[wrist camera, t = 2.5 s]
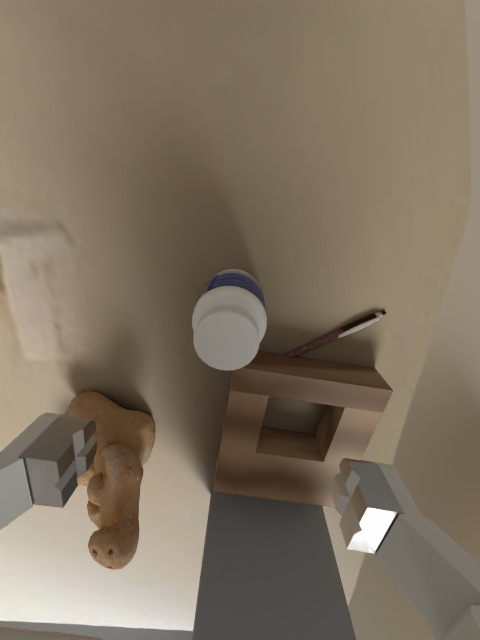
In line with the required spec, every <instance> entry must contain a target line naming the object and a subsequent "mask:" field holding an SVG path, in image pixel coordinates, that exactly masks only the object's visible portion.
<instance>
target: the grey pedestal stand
mask: <svg viewBox="0 0 480 640" xmlns="http://www.w3.org/2000/svg"><path fill="white" fill-rule="evenodd" d="M213 486H214V485H213ZM213 486H212V492H211V498H210V506H209V513H208V521H207V529H206V536H205V544H204V552H203V559H202V567H201V575H200V582H199V590H198V598H197V605H196V613H195V621H194V628H193V636H192V640H356V637H355V634H354V630H353V626H352V622H351V618H350V614H349V610H348V606H347V602H346V598H345V594H344V590H343V586H342V582H341V578H340V574H339V570H338V567H337V563H336V559H335V555H334V551H333V547H332V543H331V539H330V535H329V531H328V527H327V523H326V519H325V515H324V511H323V508H322V506H320V505H313V504H305V503H298V502H290V501H283V500H275V499H268V498H260V497H253V496H245V495H238V494H230V493H223V492H215V491H213Z"/></svg>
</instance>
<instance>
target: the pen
mask: <svg viewBox="0 0 480 640" xmlns="http://www.w3.org/2000/svg"><path fill="white" fill-rule="evenodd" d="M384 314H386V312H385V311H383V312H377V313H374V314H371V315H369V316H367V317H364V318H362V319H360V320H358V321H355V322H353V323H351V324H349V325H346V326H344V327H342V328H339V329H337V330H335V331H333V332H331V333H329V334H327V335H325V336H323V337H320V338H318V339H316V340H314V341H312V342H310V343H308V344H306V345H304V346H301V347H299V348H297V349H295V350H293V351H291V352H289V353H287V354H284V355H285V356H286V357H290V358H294V357H297V356H299V355H301V354H303V353H306V352H308V351H310V350H312V349H315V348H317V347H319V346H322V345H324V344H326V343H328V342H331V341H333V340H335V339H338V338H340V337H343V336H346V335H348V334H351V333H353V332H356V331H358V330H361V329H363V328H365V327H367V326H368V325H370V324H372V323H374V322H376V321H378V320H379V319H380V318H381V317H382V316H383V315H384Z"/></svg>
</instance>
